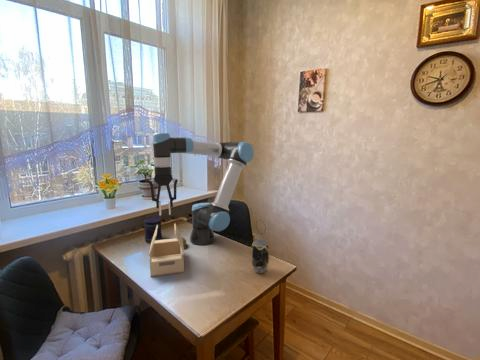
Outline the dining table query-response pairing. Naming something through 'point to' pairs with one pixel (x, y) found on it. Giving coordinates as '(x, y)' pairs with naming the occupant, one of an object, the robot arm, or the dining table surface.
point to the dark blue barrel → (152, 229)
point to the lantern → (260, 253)
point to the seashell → (184, 243)
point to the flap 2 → (179, 237)
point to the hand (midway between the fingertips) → (165, 214)
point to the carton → (166, 258)
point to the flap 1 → (153, 240)
